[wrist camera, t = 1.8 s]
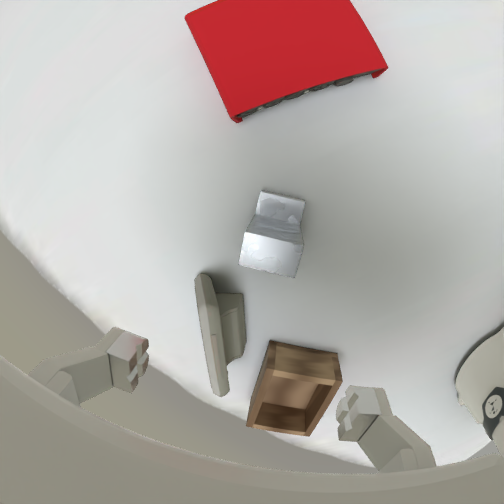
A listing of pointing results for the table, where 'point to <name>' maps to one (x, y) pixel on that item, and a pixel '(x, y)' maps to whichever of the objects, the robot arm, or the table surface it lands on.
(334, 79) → the red device housing
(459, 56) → the table surface
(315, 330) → the table surface
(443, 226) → the table surface
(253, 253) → the bracket
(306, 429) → the wooden box
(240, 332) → the digital clock
